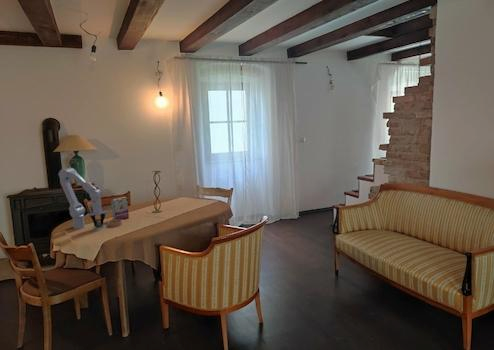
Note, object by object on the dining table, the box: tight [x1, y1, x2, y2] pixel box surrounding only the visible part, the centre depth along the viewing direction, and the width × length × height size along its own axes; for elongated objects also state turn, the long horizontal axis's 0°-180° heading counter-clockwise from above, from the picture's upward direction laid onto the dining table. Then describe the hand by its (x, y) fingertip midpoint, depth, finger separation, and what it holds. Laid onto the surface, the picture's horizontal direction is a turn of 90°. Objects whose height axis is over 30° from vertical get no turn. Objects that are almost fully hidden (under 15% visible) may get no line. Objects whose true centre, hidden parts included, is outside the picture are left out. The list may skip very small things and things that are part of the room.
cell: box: [95, 218, 102, 228], centre depth 260 cm, size 4×4×6 cm
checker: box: [90, 224, 108, 232], centre depth 260 cm, size 10×10×2 cm
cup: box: [107, 219, 123, 228], centre depth 266 cm, size 10×10×4 cm
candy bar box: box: [110, 196, 130, 220], centre depth 284 cm, size 11×5×16 cm, turn 137°
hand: (98, 225), depth 260 cm, fingers closed on cell, 4 cm apart
